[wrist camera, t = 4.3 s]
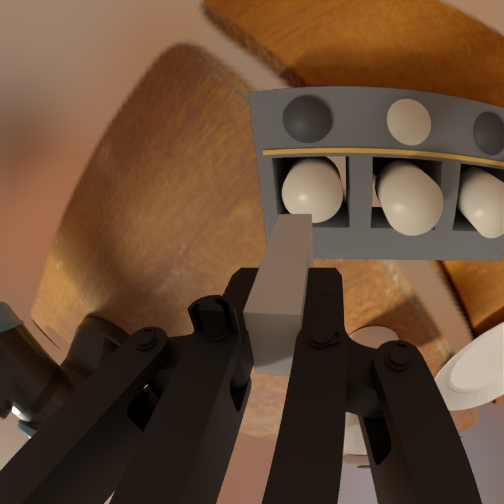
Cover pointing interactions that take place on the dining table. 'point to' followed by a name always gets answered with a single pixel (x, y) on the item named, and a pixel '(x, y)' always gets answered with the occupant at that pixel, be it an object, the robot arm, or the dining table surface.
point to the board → (379, 145)
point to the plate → (474, 372)
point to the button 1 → (313, 188)
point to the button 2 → (408, 197)
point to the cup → (353, 432)
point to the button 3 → (482, 201)
